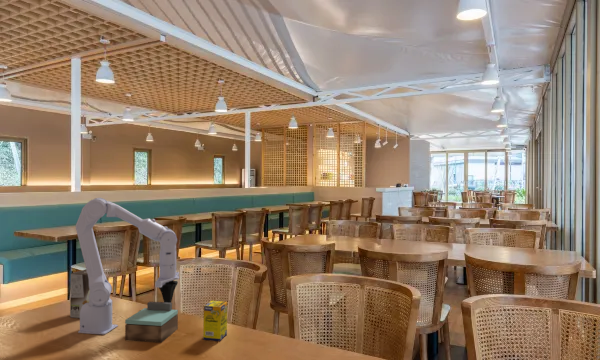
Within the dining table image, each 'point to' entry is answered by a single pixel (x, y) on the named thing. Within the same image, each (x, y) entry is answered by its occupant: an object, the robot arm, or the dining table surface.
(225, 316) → the supplement box
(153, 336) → the crate
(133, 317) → the lid
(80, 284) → the coffee box
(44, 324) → the dining table surface
